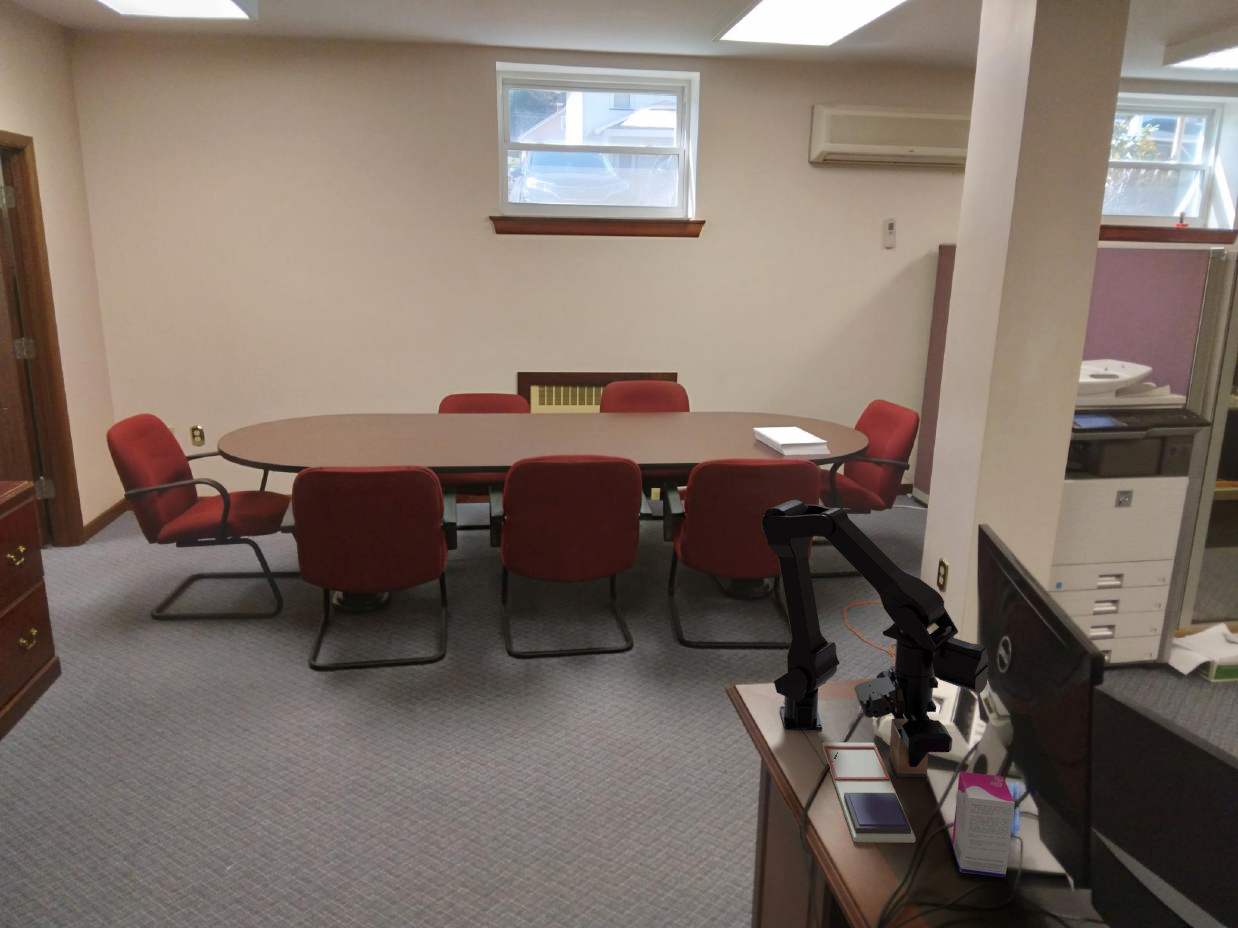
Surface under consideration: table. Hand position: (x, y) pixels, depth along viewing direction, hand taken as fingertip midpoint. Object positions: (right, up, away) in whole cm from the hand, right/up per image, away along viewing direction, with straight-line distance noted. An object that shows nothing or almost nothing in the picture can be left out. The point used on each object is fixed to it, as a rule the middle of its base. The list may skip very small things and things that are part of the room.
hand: (908, 756), depth 124 cm
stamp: (0, -2, 0) cm, 2 cm away
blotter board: (-8, -4, -4) cm, 10 cm away
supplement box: (+3, -7, -18) cm, 20 cm away
